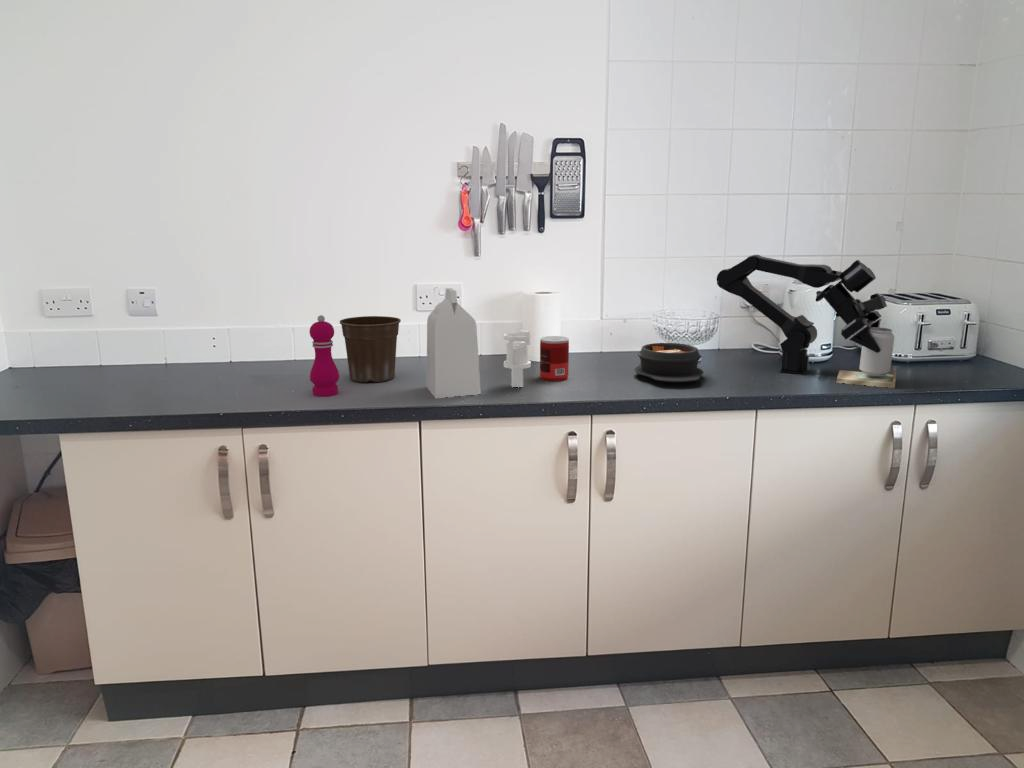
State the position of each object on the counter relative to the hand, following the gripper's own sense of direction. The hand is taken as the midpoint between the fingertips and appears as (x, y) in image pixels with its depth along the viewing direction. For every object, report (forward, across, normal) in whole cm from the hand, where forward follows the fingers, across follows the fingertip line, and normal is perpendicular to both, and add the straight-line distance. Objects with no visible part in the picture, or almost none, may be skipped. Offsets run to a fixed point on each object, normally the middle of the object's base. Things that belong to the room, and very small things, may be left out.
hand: (882, 349), depth 209 cm
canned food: (-44, -46, +58) cm, 87 cm away
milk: (-53, -74, +68) cm, 113 cm away
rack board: (+4, 0, +9) cm, 10 cm away
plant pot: (-72, -76, +87) cm, 136 cm away
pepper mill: (-70, -94, +85) cm, 145 cm away
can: (+4, 0, +6) cm, 7 cm away
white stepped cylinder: (-46, -60, +60) cm, 97 cm away
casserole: (-27, -27, +41) cm, 56 cm away
